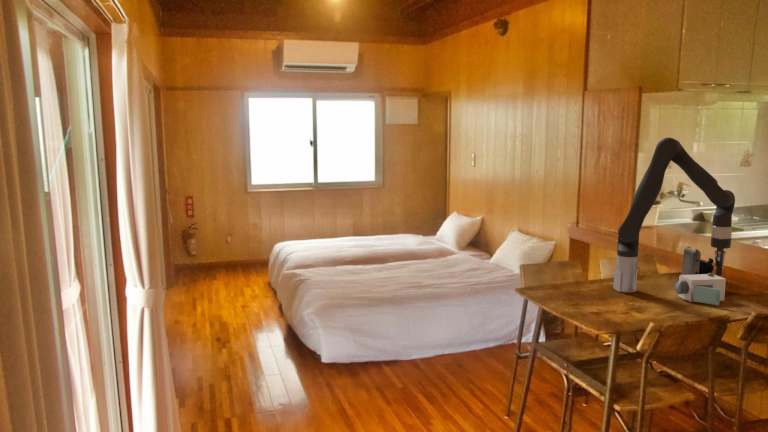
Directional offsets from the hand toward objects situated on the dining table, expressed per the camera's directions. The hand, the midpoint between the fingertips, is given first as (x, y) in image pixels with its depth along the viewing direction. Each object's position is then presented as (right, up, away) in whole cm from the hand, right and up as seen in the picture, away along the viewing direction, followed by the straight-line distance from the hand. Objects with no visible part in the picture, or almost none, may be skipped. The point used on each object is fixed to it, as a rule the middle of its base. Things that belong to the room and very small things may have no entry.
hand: (718, 275), depth 243 cm
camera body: (-3, -12, +11) cm, 16 cm away
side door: (-5, -12, +1) cm, 14 cm away
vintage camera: (+8, -9, +28) cm, 31 cm away
